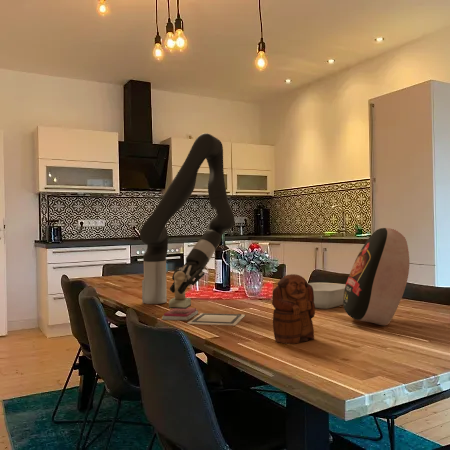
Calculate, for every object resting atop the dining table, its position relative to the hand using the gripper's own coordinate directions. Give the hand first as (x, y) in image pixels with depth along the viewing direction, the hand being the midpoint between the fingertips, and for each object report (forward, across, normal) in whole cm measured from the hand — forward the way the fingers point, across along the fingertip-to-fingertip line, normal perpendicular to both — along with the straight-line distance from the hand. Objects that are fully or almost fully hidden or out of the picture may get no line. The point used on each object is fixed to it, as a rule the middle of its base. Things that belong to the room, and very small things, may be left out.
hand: (175, 291), depth 160 cm
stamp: (+2, 0, +5) cm, 6 cm away
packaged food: (-19, +56, +31) cm, 67 cm away
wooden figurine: (+6, +50, +6) cm, 50 cm away
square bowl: (-30, +26, +42) cm, 58 cm away
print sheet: (+2, +14, +11) cm, 18 cm away
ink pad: (+5, 0, +8) cm, 9 cm away
